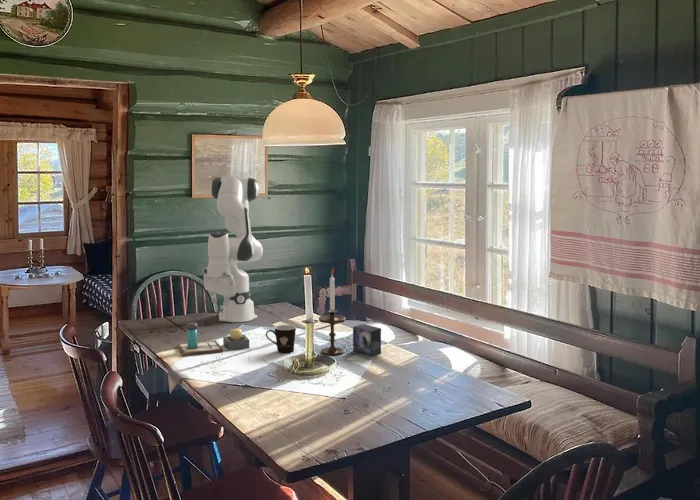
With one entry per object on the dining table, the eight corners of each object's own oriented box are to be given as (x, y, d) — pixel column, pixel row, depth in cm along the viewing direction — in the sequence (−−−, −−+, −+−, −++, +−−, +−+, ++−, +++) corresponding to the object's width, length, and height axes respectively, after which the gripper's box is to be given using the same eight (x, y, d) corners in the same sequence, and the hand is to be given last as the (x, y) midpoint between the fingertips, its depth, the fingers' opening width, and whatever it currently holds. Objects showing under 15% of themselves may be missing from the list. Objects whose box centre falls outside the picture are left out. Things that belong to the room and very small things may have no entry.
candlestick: (351, 352, 274) (351, 267, 270) (332, 357, 266) (332, 270, 262) (331, 347, 281) (331, 264, 277) (313, 352, 273) (312, 267, 269)
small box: (351, 351, 275) (351, 326, 274) (363, 348, 280) (363, 323, 279) (370, 356, 268) (370, 330, 267) (381, 353, 272) (381, 328, 271)
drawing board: (177, 346, 282) (177, 343, 282) (215, 343, 288) (215, 339, 288) (182, 356, 268) (182, 353, 268) (222, 352, 274) (222, 348, 274)
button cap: (228, 338, 284) (228, 329, 283) (240, 337, 286) (240, 328, 285) (231, 341, 279) (231, 332, 279) (243, 340, 281) (243, 330, 281)
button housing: (223, 344, 285) (223, 336, 285) (244, 342, 289) (244, 334, 288) (227, 350, 277) (227, 341, 277) (249, 347, 280) (249, 339, 280)
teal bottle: (186, 346, 277) (185, 323, 276) (196, 345, 279) (196, 322, 277) (188, 349, 273) (187, 325, 272) (198, 348, 275) (198, 324, 273)
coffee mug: (300, 350, 277) (300, 326, 275) (288, 355, 269) (287, 331, 268) (277, 346, 283) (277, 323, 281) (264, 351, 275) (264, 327, 274)
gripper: (239, 273, 271) (239, 307, 273) (214, 267, 286) (214, 299, 288) (225, 275, 267) (225, 309, 269) (200, 268, 282) (201, 301, 284)
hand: (220, 304), depth 279 cm, fingers open, 8 cm apart
